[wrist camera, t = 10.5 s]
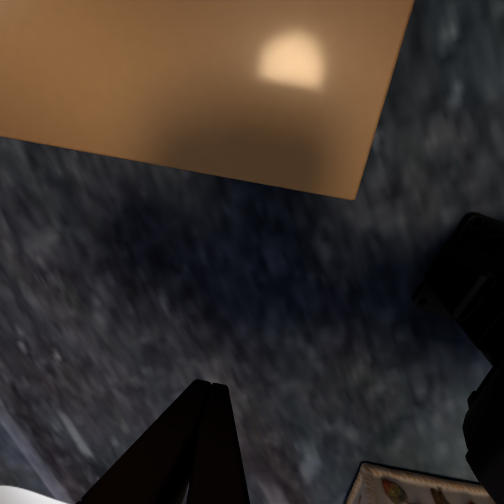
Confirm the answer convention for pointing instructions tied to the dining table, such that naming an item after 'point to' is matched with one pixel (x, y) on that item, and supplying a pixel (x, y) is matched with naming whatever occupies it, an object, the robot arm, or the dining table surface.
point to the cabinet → (205, 83)
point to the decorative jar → (411, 488)
